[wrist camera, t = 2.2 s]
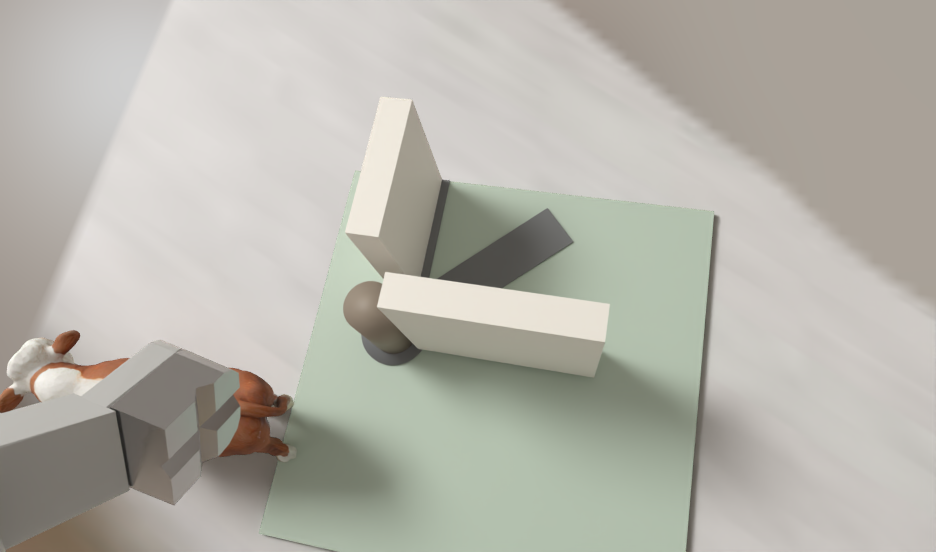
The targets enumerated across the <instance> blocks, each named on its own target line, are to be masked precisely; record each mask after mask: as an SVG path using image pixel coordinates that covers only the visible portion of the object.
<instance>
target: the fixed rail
mask: <svg viewBox="0 0 936 552" xmlns="http://www.w3.org/2000/svg"><path fill="white" fill-rule="evenodd" d="M441 182H442V178H441V175H440V173H439V170H438V167H437V165H436V162H435V159H434V157H433V154H432V151H431V149H430V146H429V143H428V141H427V138H426V135H425V133H424V130H423V127H422V125H421V122H420V119H419V117H418V114H417V111H416V109H415V106H414V103H413V101H412V100H411V99H400V98H389V97H380V100H379V104H378V108H377V112H376V116H375V120H374V123H373V127H372V131H371V135H370V139H369V142H368V146H367V150H366V154H365V158H364V161H363V165H362V169H361V173H360V177H359V180H358V184H357V188H356V192H355V196H354V199H353V203H352V207H351V211H350V215H349V218H348V222H347V226H346V230H345V233H346V235H347V236H348V237H349V238H350V240H351V241H352V242H353V243H354V244H355V246H356V247H357V248H358V249H359V250H360V252H361V253H362V254H363V255H364V256H365V258H366V259H367V260H368V261H369V262H370V264H371V265H372V266H373V267H374V269H375V270H376V271H377V272H378V273H379V275H380V276H381V277H382V278H383V279H384V275H385V272H390V273H397V274H404V275H411V276H418V277H421V273H422V268H423V264H424V259H425V255H426V250H427V246H428V241H429V237H430V232H431V228H432V223H433V219H434V214H435V210H436V205H437V200H438V196H439V191H440V187H441ZM381 288H382V283H379V282H376V281H366V282H362V283H360V284H358V285H356V286H355V287H353V288H352V289H351V290H350V291H349V293H348V294H347V296H346V298H345V300H344V304H343V313H344V317H345V319H346V321H347V322H348V324H349V325H350V326H351V327H353V328H354V329H355V330H356V331H358V332H359V333H360V334H361V335H363V336H364V337H365V338H366V339H368V340H369V341H370V342H371V343H373V344H374V345H375V346H377V347H378V348H379V349H380V350H382V351H383V352H386V353H390V354H396V353H400V352H403V351H405V350H406V349H408V348H409V347H410V346H411V345H412V342H411V341H410V340H409V339H408V338H407V337H406V336H405V335H404V334H403V333H402V332H401V331H400V330H399V329H398V328H397V327H396V326H395V325H394V324H393V323H392V322H391V321H390V320H389V319H388V318H387V317H386V316H385V315H384V314H383V313H382V312H381V311H380V310H379V309H378V308H377V304H378V300H379V296H380V292H381Z"/></svg>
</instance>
